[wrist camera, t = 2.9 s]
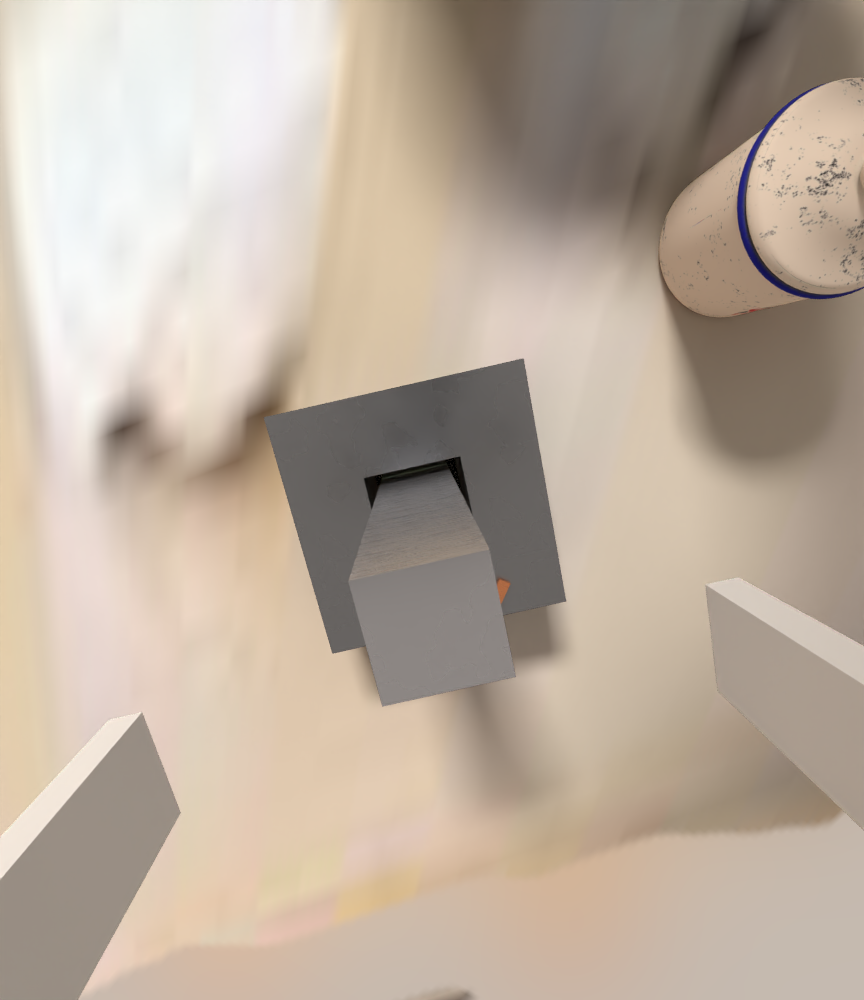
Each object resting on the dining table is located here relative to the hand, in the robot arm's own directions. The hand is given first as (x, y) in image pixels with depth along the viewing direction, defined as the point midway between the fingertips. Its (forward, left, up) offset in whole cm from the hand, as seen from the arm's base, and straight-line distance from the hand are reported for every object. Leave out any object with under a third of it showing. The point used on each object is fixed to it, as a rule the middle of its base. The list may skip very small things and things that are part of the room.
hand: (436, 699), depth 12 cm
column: (0, 0, -23) cm, 23 cm away
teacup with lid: (-12, +23, -23) cm, 35 cm away
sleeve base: (0, 0, -23) cm, 23 cm away
